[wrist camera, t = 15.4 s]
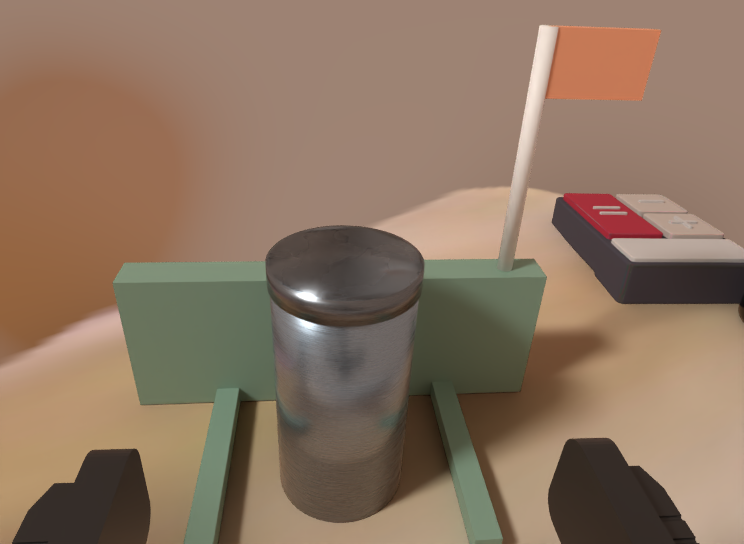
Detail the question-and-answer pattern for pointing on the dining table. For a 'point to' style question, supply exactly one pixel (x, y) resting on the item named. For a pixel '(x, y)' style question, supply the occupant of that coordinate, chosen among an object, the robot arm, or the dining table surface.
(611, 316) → the dining table surface
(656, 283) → the calculator
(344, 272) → the slate canister
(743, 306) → the supplement bottle
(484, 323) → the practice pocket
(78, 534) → the robot arm
